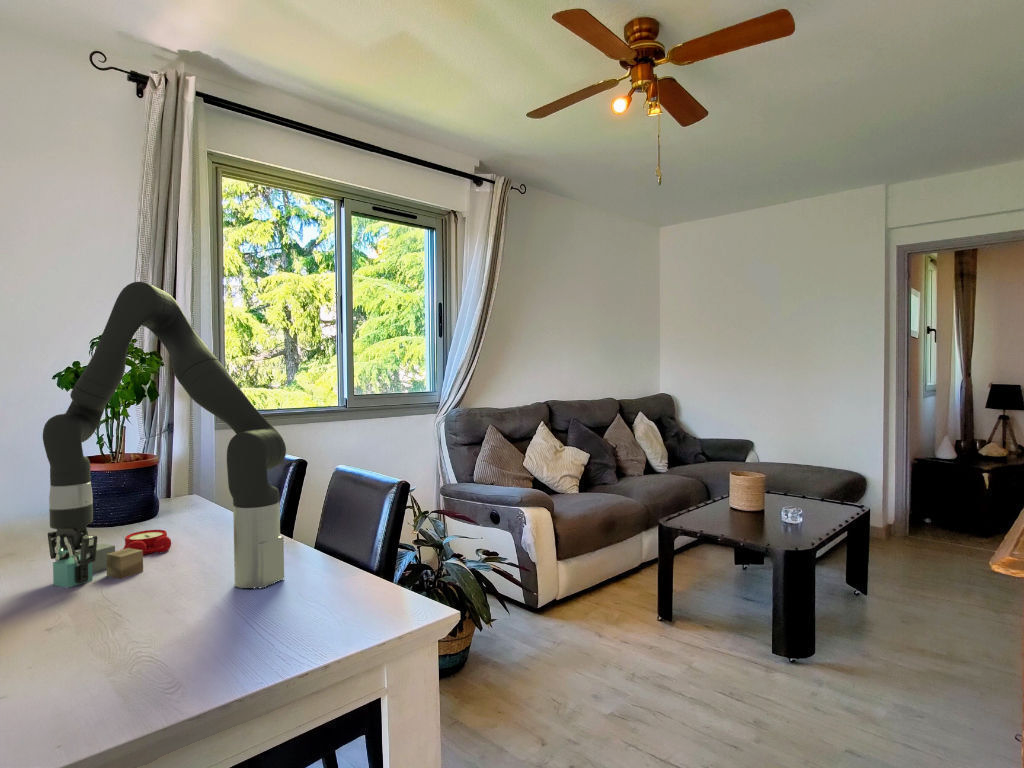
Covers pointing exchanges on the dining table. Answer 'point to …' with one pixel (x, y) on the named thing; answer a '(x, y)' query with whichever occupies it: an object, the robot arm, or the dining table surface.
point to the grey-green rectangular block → (101, 556)
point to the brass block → (124, 563)
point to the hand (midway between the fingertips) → (73, 580)
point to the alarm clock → (148, 541)
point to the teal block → (67, 573)
